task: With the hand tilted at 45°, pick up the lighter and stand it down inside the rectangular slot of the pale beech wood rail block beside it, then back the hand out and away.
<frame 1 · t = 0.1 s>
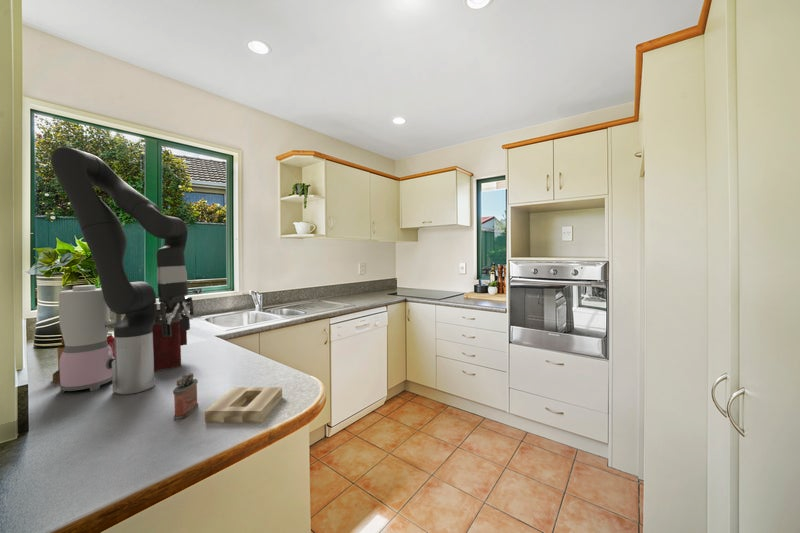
hand: (177, 333, 99), 17 cm above the countertop, tool pointing down, fingers open, 8 cm apart
mortar and pestle: (67, 379, 108), on the countertop
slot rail: (246, 409, 87), on the countertop
blender: (94, 386, 102), on the countertop
soda can: (103, 367, 119), on the countertop
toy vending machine: (168, 365, 121), on the countertop
lighter: (186, 413, 85), on the countertop
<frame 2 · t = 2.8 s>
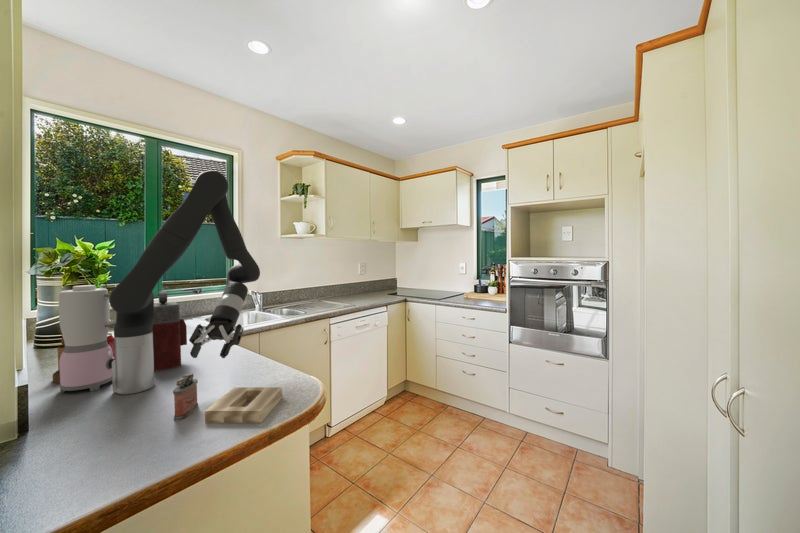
hand: (207, 356, 94), 12 cm above the countertop, tool tilted 45°, fingers open, 8 cm apart
nothing on the countertop moved.
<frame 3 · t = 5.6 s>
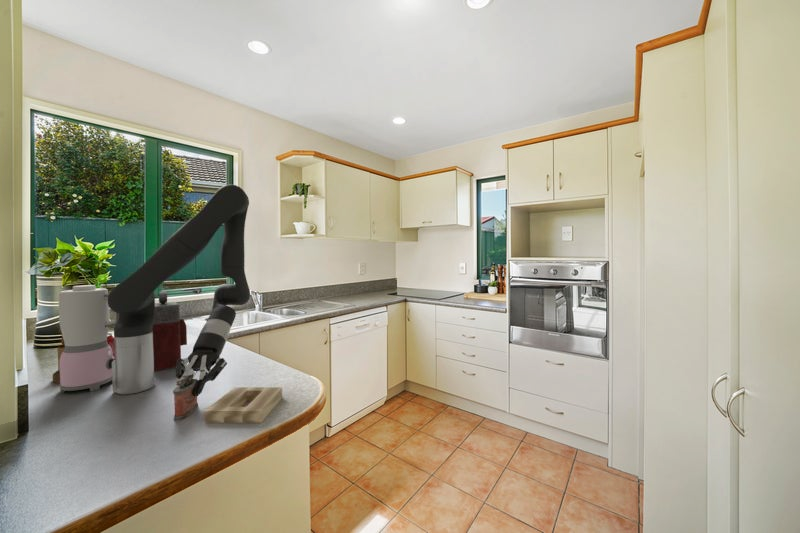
hand: (187, 394, 85), 5 cm above the countertop, tool tilted 45°, fingers closed on lighter, 3 cm apart
lighter: (186, 413, 85), on the countertop, touching gripper
everything else where it was.
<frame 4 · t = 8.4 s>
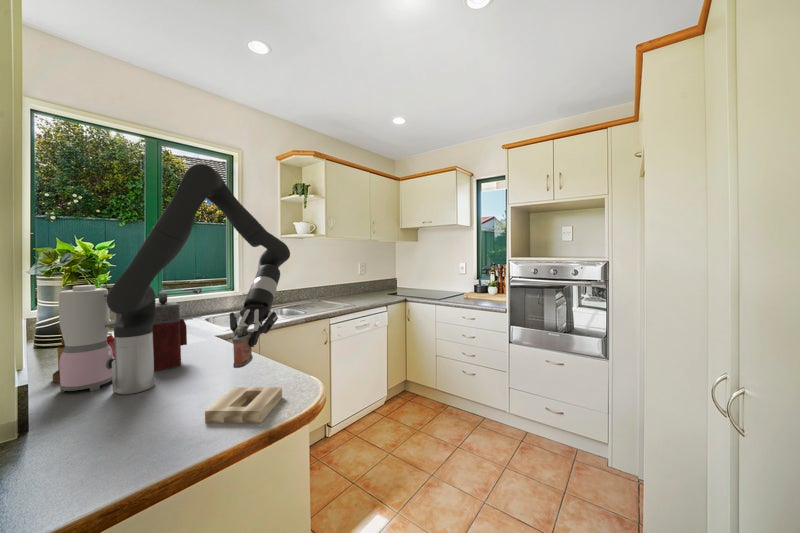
hand: (243, 345, 87), 17 cm above the countertop, tool tilted 45°, fingers closed on lighter, 3 cm apart
lighter: (243, 363, 87), point 12 cm above the countertop, touching gripper
everything else where it was.
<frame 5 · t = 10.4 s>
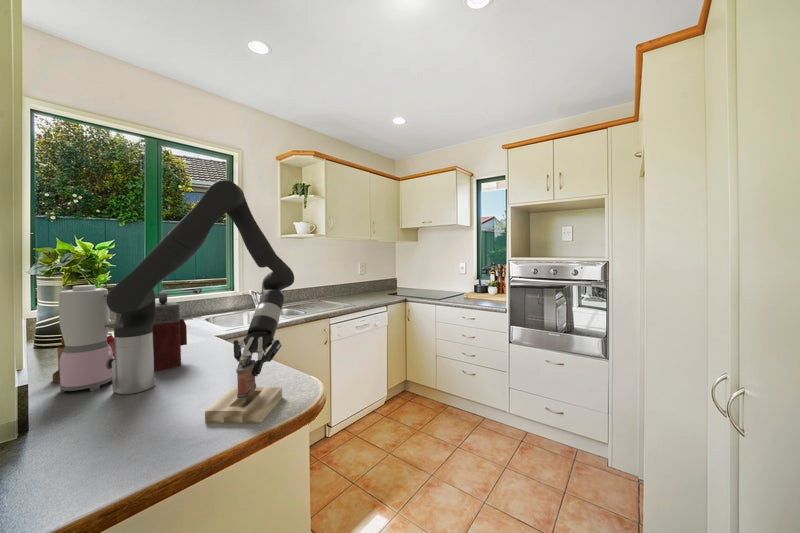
hand: (247, 374, 87), 9 cm above the countertop, tool tilted 45°, fingers closed on lighter, 3 cm apart
lighter: (247, 392, 87), point 4 cm above the countertop, touching gripper
everything else where it was.
when the fingers open (5 cm above the countertop, at t = 11.7 s): lighter stays where it is, resting in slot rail.
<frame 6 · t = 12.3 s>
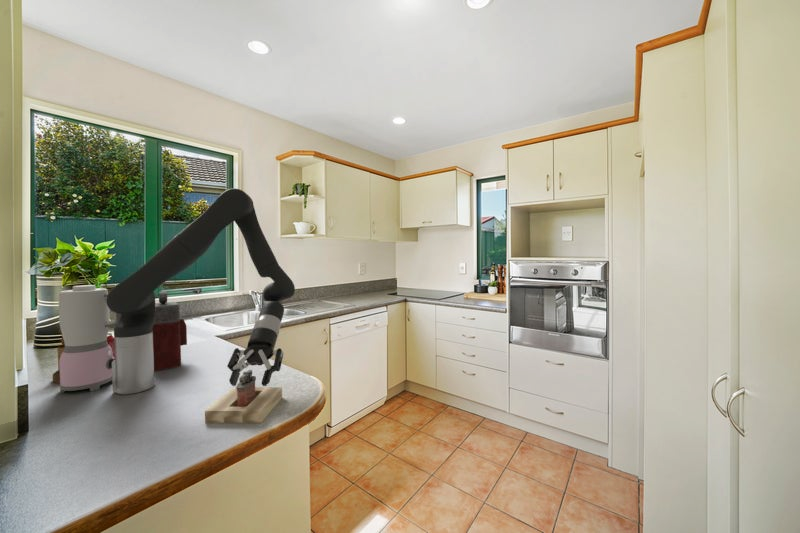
hand: (248, 384, 88), 6 cm above the countertop, tool tilted 45°, fingers open, 8 cm apart
lighter: (246, 409, 87), resting in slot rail
everything else where it was.
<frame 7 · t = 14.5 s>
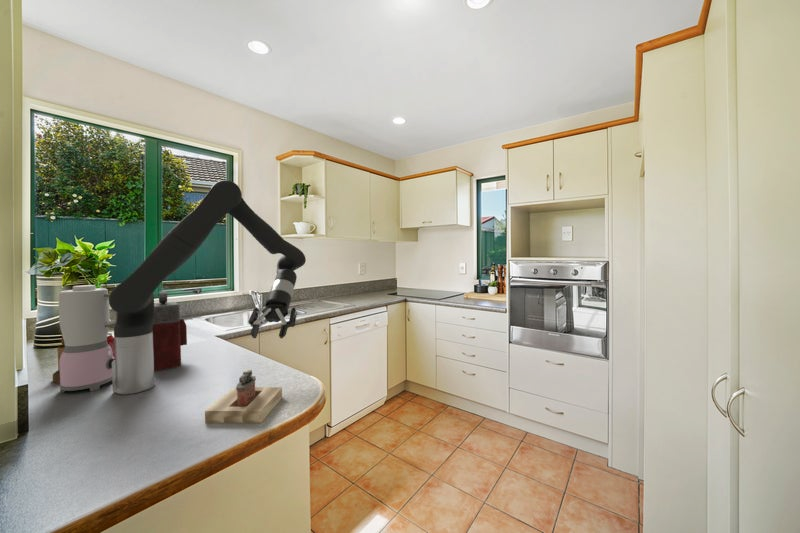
hand: (267, 337, 100), 16 cm above the countertop, tool tilted 45°, fingers open, 8 cm apart
nothing on the countertop moved.
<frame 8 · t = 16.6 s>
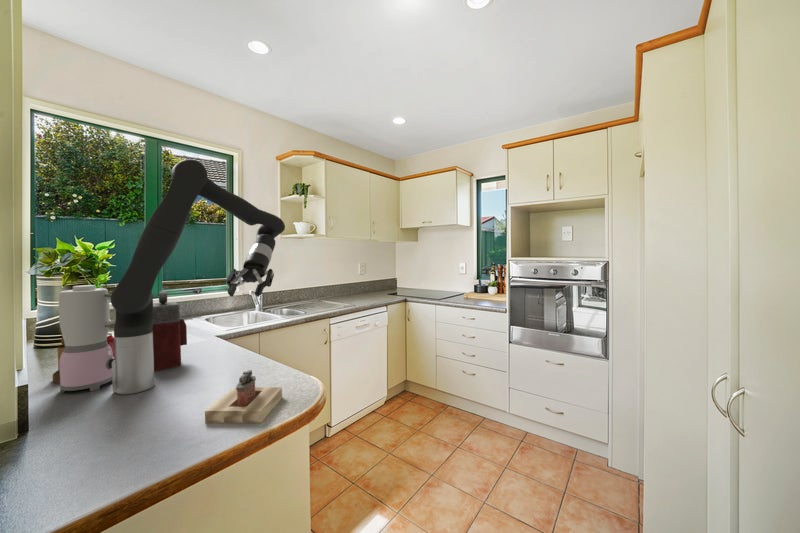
hand: (243, 295, 103), 29 cm above the countertop, tool tilted 45°, fingers open, 8 cm apart
nothing on the countertop moved.
at the end: lighter 0.3 cm off-centre on the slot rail, point 0.0 cm above the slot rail's base; lighter tilted 0°; the gripper is holding nothing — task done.
